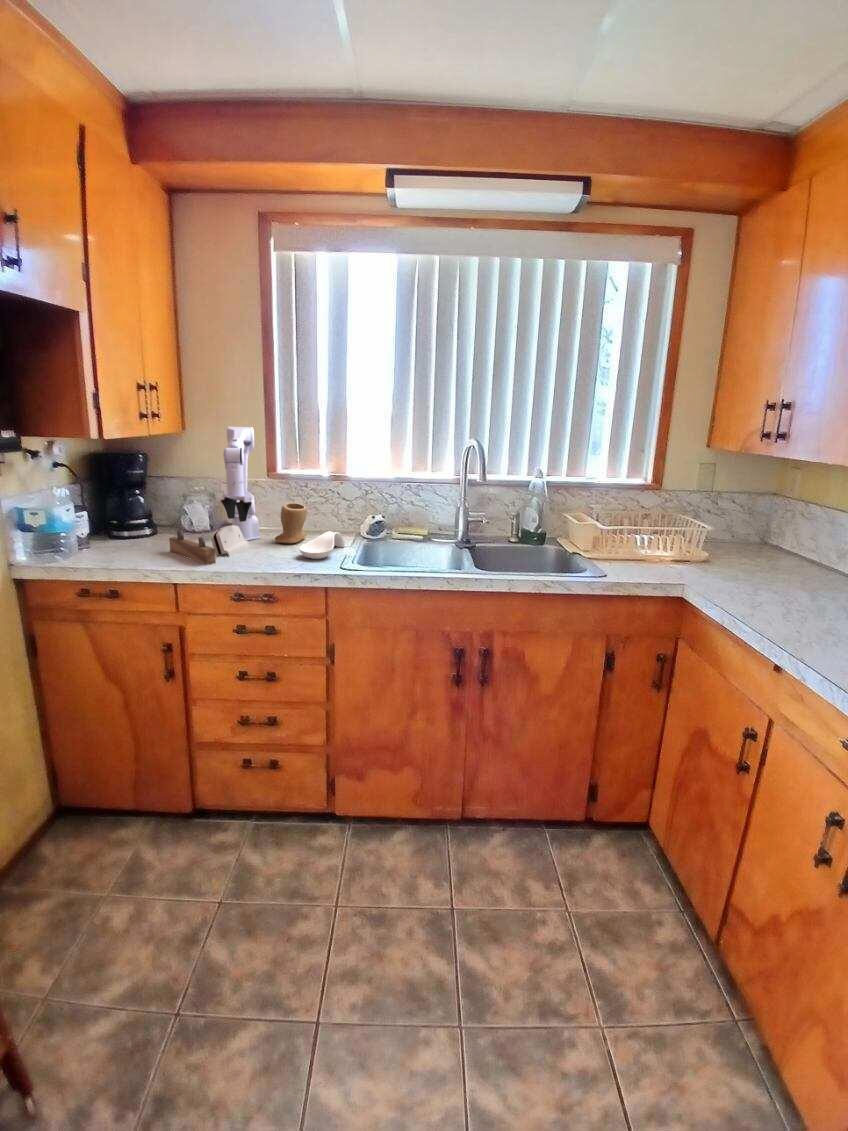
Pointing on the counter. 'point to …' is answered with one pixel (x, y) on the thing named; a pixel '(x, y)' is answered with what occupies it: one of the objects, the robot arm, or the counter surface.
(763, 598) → the counter surface
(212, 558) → the stop fence
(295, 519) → the brown boot vase
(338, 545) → the spoon rest
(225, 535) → the white curved piece
